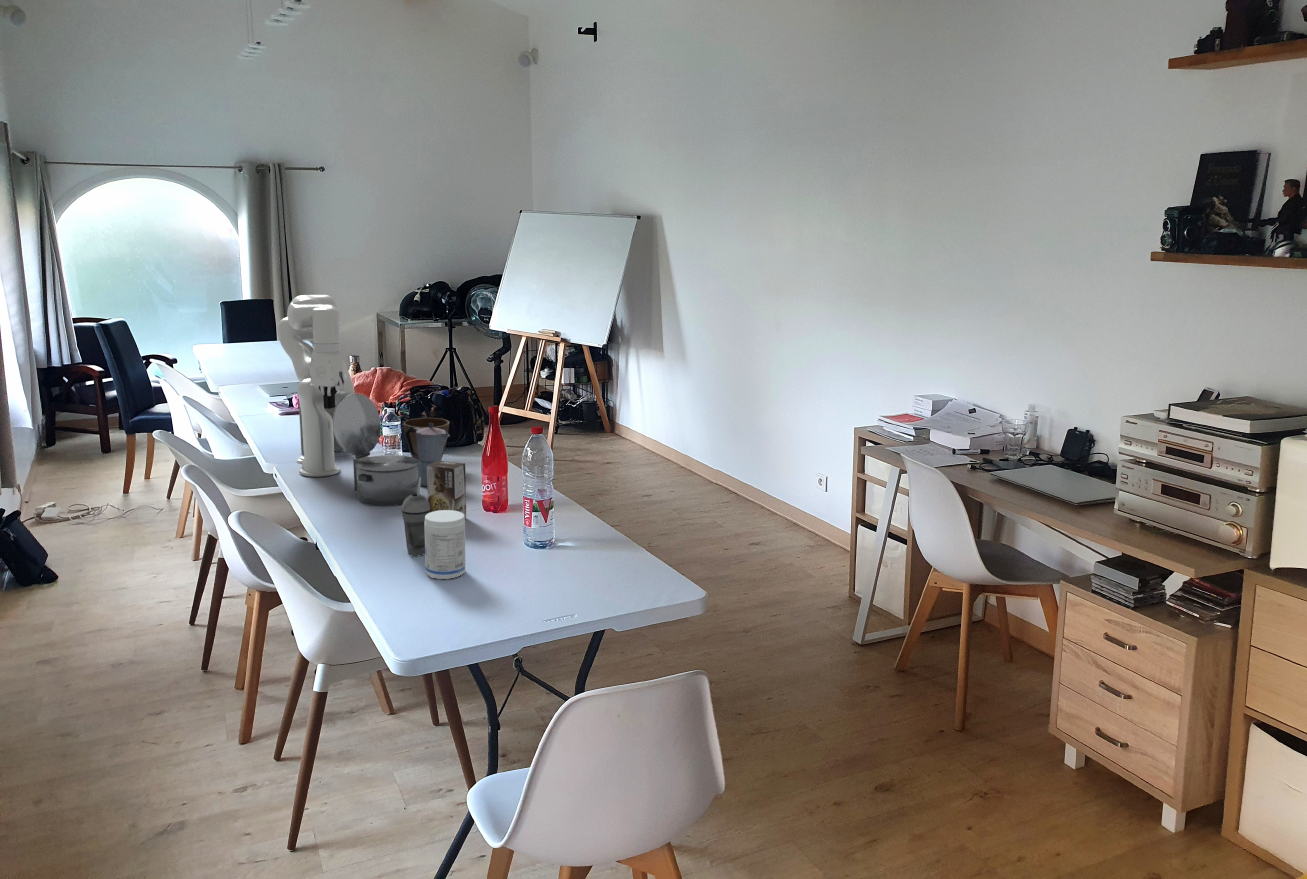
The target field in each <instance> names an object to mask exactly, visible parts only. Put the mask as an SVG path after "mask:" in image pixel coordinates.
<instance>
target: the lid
mask: <svg viewBox="0 0 1307 879" xmlns="http://www.w3.org/2000/svg"><path fill="white" fill-rule="evenodd" d="M381 423H382V422H381V416H380V413H379V411H378V408H377V406H376V404H375V403H374V402H373V400H372V399H370V397H368V396H366V395H365V394H362V393H355V394H349V395H346V396H345V397H343V398H342V399H341V400H340V401H339V403H338V404H337V406H336V408H335V411H334V415H333V431H334V435H335V438H336V440H337V442H338V444H339V445H340V447H341V448H342V449H343V451H344V452H345V453H347V454H349V455H351V456H355V457H354V459H359V458H363V457H366V456H368V457H370V455H371V452H372V451H373V450H374V449H375V447H376V445H377V444H378V442H379V439H380V437H381V431H382V429H381V428H382V424H381Z"/></svg>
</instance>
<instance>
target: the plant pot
mask: <svg viewBox="0 0 1307 879" xmlns="http://www.w3.org/2000/svg"><path fill="white" fill-rule="evenodd" d="M429 423H434V424H433V428H439V429H443V430H445V431H446V433H448V434H449V428H450V421H449V420H447V419H444V418H438V417H437V418H436V417H418V418H412V419H411V418H410V419H407V420H405V421H404V422H403V426H404V432H405V434H406V431H407V430H408V429H409V428H410V426H412V427H415V428H420V429H422V428H429ZM409 435H410V438H411V443H412V448H413V450H414V452H416V453H418V449H417V439H416V434H415V433H413V432H410V433H409ZM447 440H448V439H447ZM447 440H446V442H445V444H444V447H443V453H442V459H443V456H444V453H445V450H446V445H447ZM406 441H407V440H406ZM407 445H408V449H409V452H410V448H409V444H408V441H407ZM410 455H411V456H410V457H413V458H416V459H417V460H418V461H419V454H418V455H417V456H415V455H412V454H411V452H410ZM442 459H441V461H443V460H442Z"/></svg>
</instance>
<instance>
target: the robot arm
mask: <svg viewBox="0 0 1307 879" xmlns="http://www.w3.org/2000/svg"><path fill="white" fill-rule="evenodd" d="M277 335H278V340H279V342H280V345H281V347H282V348H283V350H284V353H286V354H287V356H288V357H289V358H290V360H291V362H292V366H293V369H294V371H295V374H296V377H297V380H298V381H299V383H298V385H297V396H298V402H299V405H300V407H301V414H302V428H303V447H304V454H303V456H300V457H299V458H298V459H297V461H296V463H297V464H299V465H302V466H301V468H300V469H299V474H300V475H302V476H304V477H311V478H312V477H313V478H317V477H318V478H320V477H329V476H333V475H334V476H335V475H337V474H339V473H341V468H340V467H339V466H338V465H336V463H335V462H336V461H335V460H336V459H335V452H334V435H333V420H332V417H331V416H330V415H329V413H328V412H326V411H325V410H324V408H327V409H330V408H335V406H337V404H338V403H339V401H340V400H341V399H342V398H343V397H345V396H346V395H349V394H356V393H355V392H356V391H355V387H354V383H353V380H352V378H351V376H350V372H349V370H348V368H347V364H346V362H345V361H344V360H343V356H342V353H341V341H340V311H339V310H338V307H337V302H336V301H335V299H334V298H333V297H332V296H331V295H328V294H302V295H297V296H296V297H294V298H293V299H292V300H291V301H290V303H289V304H288V307H287V314H286V317H283V318H282V319H280V320H279V321H278V324H277ZM306 341H307V342H306ZM308 341H309V342H310V341H313V344H312V345H310V343H308Z"/></svg>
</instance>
